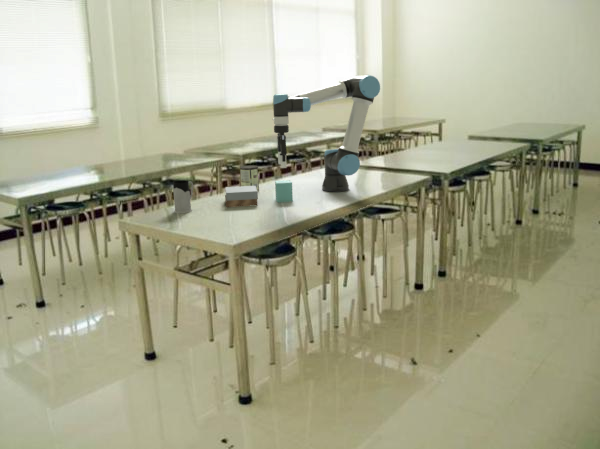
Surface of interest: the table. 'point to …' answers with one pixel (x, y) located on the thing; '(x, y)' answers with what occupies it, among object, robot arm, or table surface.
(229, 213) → the table surface
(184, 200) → the grey black mug
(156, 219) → the table surface
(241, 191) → the grey slab
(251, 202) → the walnut slab
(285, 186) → the teal block
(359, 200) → the table surface
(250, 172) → the coffee can
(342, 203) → the table surface
